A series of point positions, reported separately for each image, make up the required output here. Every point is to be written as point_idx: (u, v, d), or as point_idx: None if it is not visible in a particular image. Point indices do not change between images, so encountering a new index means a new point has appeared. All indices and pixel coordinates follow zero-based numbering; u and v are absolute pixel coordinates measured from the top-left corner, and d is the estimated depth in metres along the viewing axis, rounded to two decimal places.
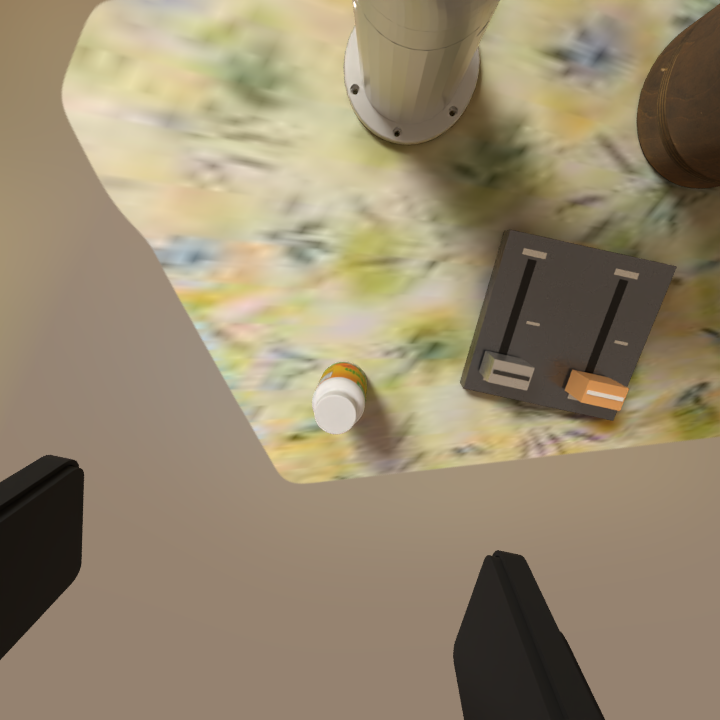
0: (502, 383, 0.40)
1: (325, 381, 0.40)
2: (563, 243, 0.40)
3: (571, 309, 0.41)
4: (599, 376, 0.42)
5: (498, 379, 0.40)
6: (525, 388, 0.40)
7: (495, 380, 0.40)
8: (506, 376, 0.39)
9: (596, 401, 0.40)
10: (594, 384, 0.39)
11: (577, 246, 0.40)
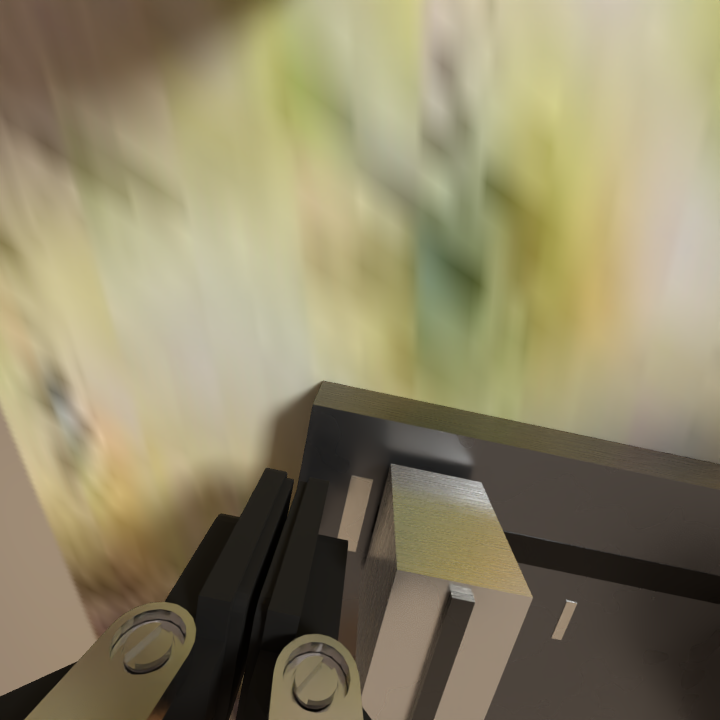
0: (388, 636, 0.07)
1: None
2: None
3: (595, 715, 0.13)
4: None
5: (411, 617, 0.07)
6: None
7: (406, 604, 0.07)
8: (430, 654, 0.07)
9: None
10: None
11: None
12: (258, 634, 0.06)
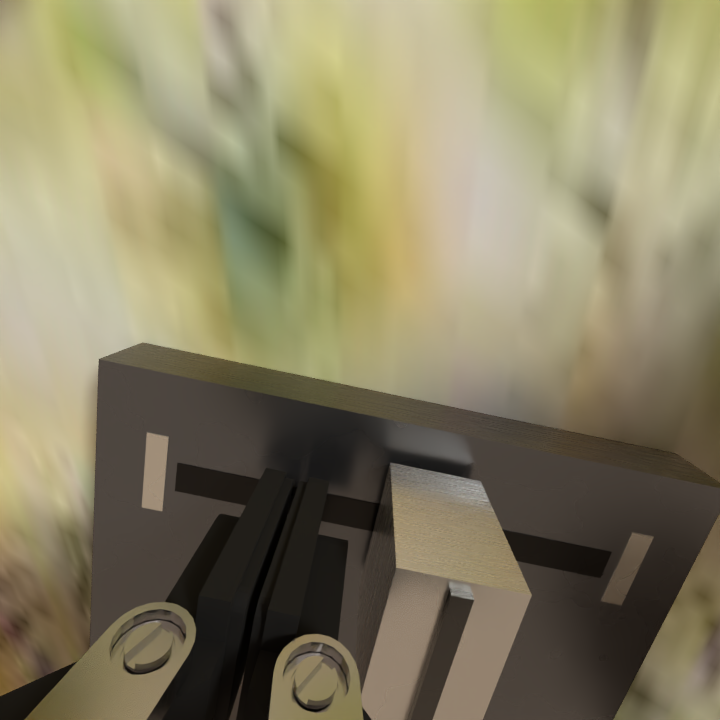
0: (388, 634, 0.07)
1: None
2: (644, 645, 0.12)
3: None
4: None
5: (411, 615, 0.07)
6: None
7: (405, 602, 0.07)
8: (429, 651, 0.07)
9: None
10: None
11: (627, 680, 0.12)
12: (258, 634, 0.06)
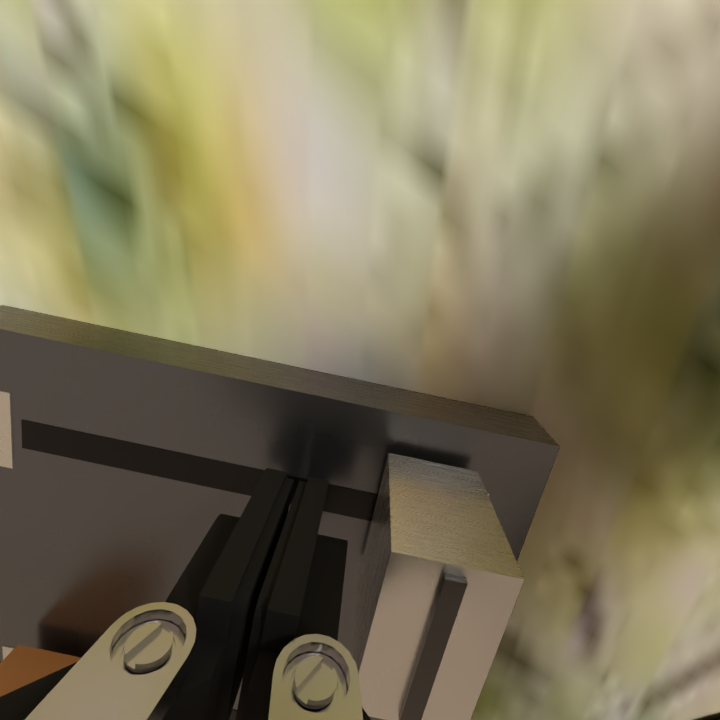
0: (384, 617, 0.07)
1: None
2: None
3: None
4: None
5: (406, 599, 0.07)
6: None
7: (400, 586, 0.07)
8: (424, 634, 0.07)
9: None
10: None
11: None
12: (257, 634, 0.06)
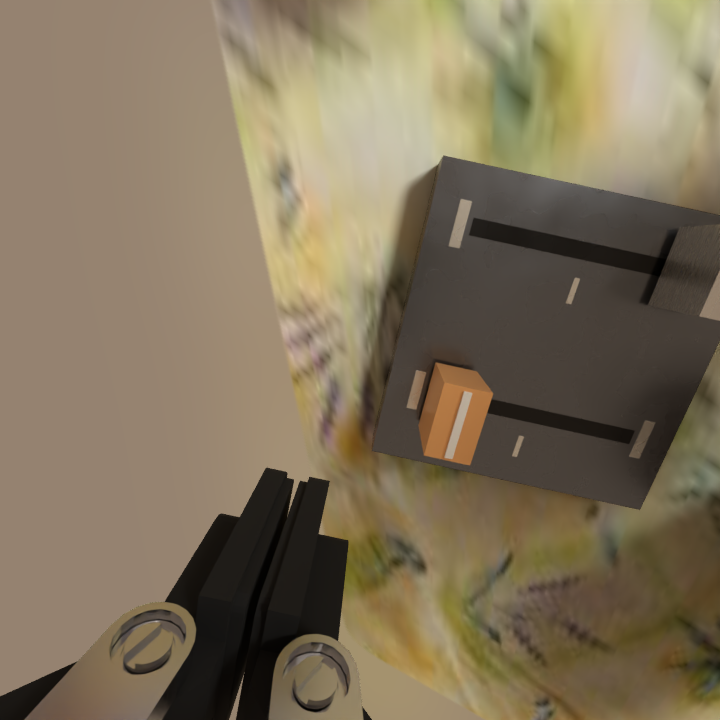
0: None
1: None
2: None
3: (590, 358, 0.22)
4: None
5: None
6: (705, 312, 0.18)
7: None
8: None
9: (445, 411, 0.20)
10: (481, 404, 0.19)
11: (709, 355, 0.22)
12: (258, 634, 0.06)
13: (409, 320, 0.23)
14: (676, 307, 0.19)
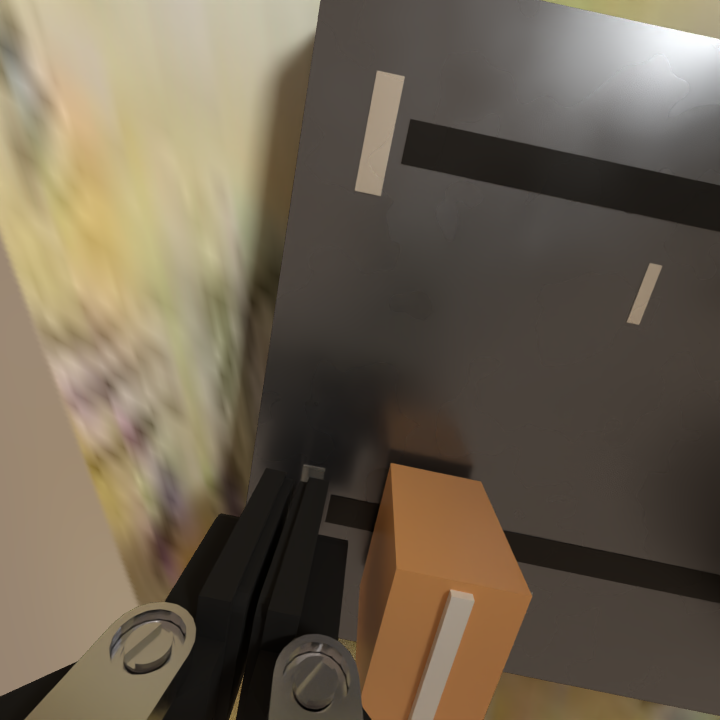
0: None
1: None
2: None
3: (676, 440, 0.10)
4: None
5: None
6: None
7: None
8: None
9: (401, 637, 0.07)
10: (500, 622, 0.07)
11: None
12: (258, 634, 0.06)
13: (280, 361, 0.10)
14: None
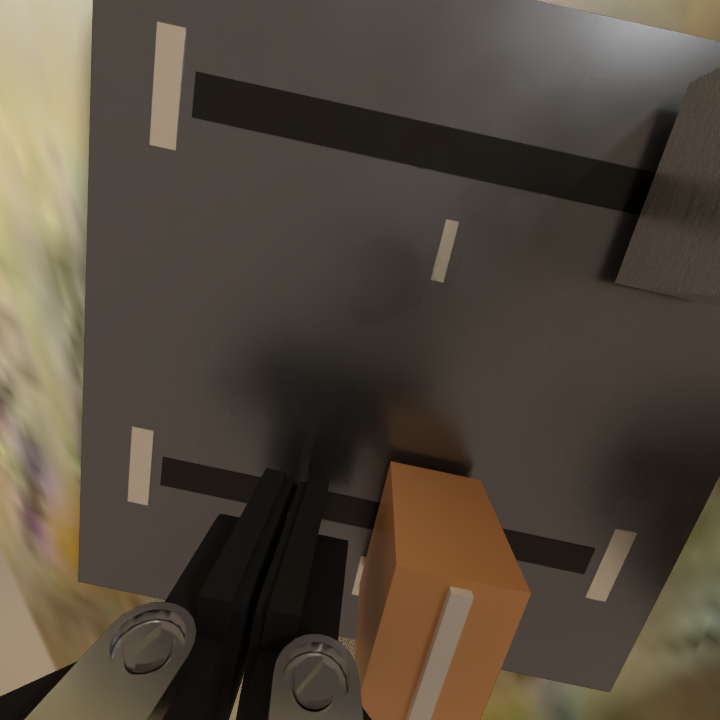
0: None
1: None
2: None
3: (494, 401, 0.10)
4: None
5: None
6: None
7: None
8: None
9: (401, 633, 0.07)
10: (499, 620, 0.07)
11: None
12: (258, 634, 0.06)
13: (97, 320, 0.10)
14: (685, 281, 0.07)
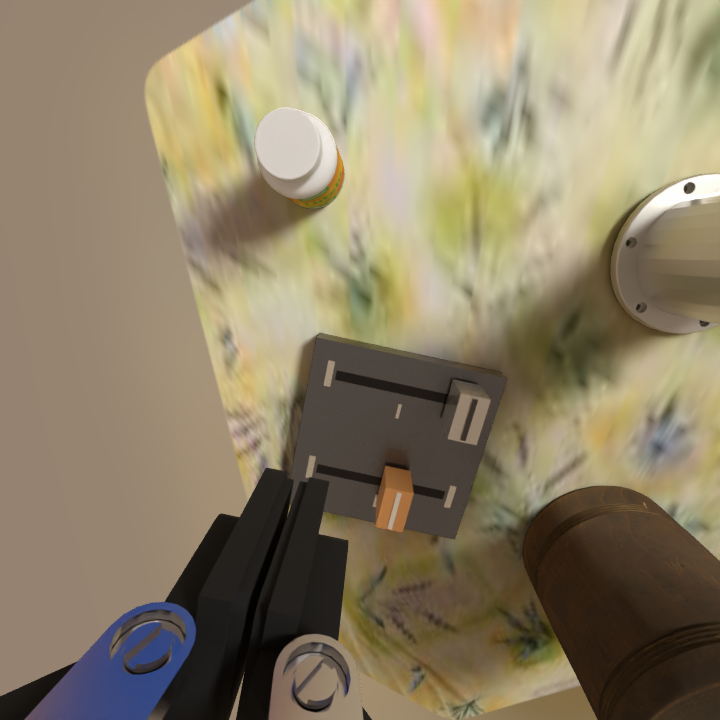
0: (458, 410, 0.32)
1: (331, 134, 0.26)
2: (487, 434, 0.36)
3: (413, 449, 0.37)
4: None
5: (463, 405, 0.32)
6: (450, 437, 0.32)
7: (462, 402, 0.31)
8: (467, 414, 0.32)
9: (387, 503, 0.34)
10: (407, 499, 0.34)
11: (482, 448, 0.37)
12: (258, 634, 0.06)
13: (303, 426, 0.37)
14: (445, 428, 0.34)
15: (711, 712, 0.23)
